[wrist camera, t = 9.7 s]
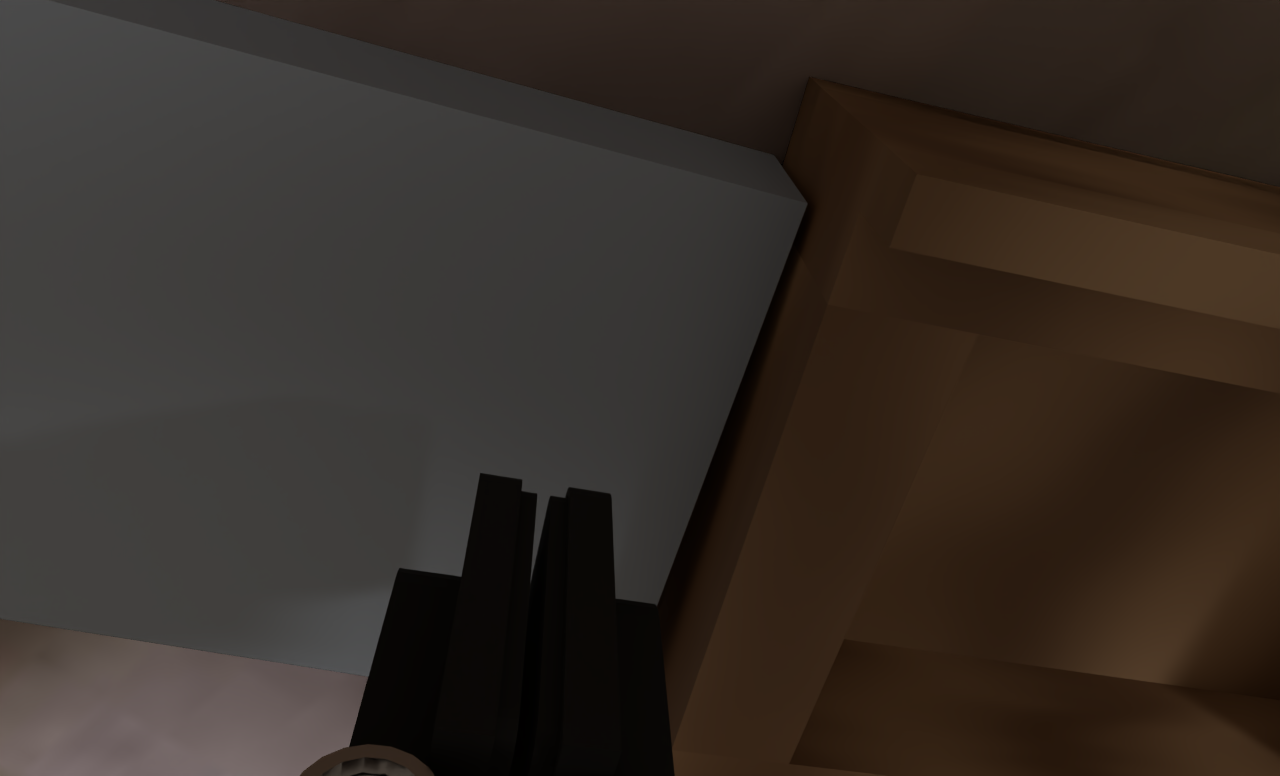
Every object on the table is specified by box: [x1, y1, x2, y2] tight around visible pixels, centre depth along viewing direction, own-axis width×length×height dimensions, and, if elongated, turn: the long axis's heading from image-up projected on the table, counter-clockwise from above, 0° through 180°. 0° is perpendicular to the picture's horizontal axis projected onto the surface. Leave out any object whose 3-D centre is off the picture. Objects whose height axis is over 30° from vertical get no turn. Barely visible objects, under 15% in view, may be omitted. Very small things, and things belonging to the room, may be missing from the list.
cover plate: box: [0, 0, 808, 677], centre depth 15 cm, size 14×10×3 cm
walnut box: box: [657, 77, 1280, 776], centre depth 16 cm, size 16×12×5 cm
